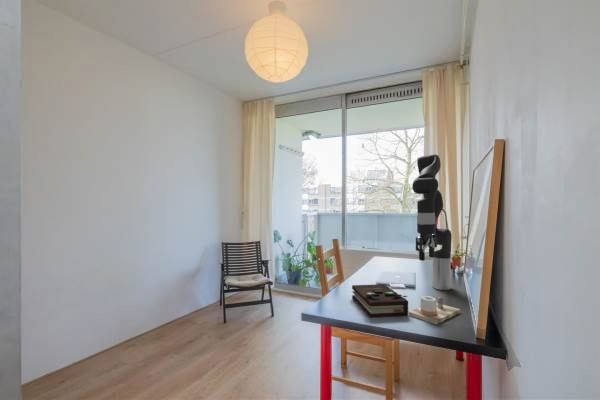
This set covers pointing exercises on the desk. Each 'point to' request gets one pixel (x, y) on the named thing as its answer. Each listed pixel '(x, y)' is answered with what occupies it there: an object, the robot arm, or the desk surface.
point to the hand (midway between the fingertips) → (426, 258)
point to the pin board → (442, 313)
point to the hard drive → (397, 286)
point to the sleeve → (428, 305)
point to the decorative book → (380, 301)
